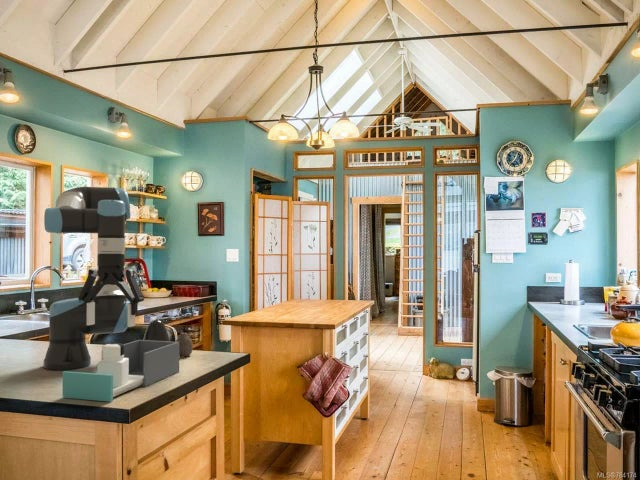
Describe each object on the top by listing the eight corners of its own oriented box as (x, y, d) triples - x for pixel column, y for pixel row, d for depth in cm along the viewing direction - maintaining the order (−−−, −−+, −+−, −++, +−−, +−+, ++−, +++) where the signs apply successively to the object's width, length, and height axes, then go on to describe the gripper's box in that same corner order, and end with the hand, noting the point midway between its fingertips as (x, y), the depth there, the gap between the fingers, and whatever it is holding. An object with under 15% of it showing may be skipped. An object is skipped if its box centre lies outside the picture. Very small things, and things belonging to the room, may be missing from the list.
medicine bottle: (104, 381, 164) (105, 341, 164) (128, 381, 164) (129, 341, 164) (96, 387, 157) (96, 346, 157) (121, 387, 157) (121, 345, 157)
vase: (186, 358, 204) (186, 335, 205) (170, 357, 207) (170, 333, 207) (196, 354, 211) (196, 332, 211) (181, 353, 213) (181, 331, 213)
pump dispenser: (176, 359, 202) (177, 318, 202) (157, 365, 193) (157, 322, 193) (155, 357, 206) (155, 317, 207) (135, 362, 197) (135, 320, 197)
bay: (101, 383, 167) (101, 350, 167) (138, 369, 186) (138, 339, 187) (145, 386, 163) (146, 353, 163) (179, 371, 182) (179, 342, 183)
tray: (62, 397, 151) (62, 372, 151) (107, 380, 170) (107, 357, 170) (110, 401, 147) (110, 375, 147) (151, 383, 166) (151, 360, 166)
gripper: (65, 252, 159) (65, 325, 159) (141, 253, 153) (141, 328, 153) (83, 252, 166) (82, 322, 166) (156, 252, 160) (155, 325, 160)
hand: (110, 325), depth 159 cm, fingers open, 13 cm apart
